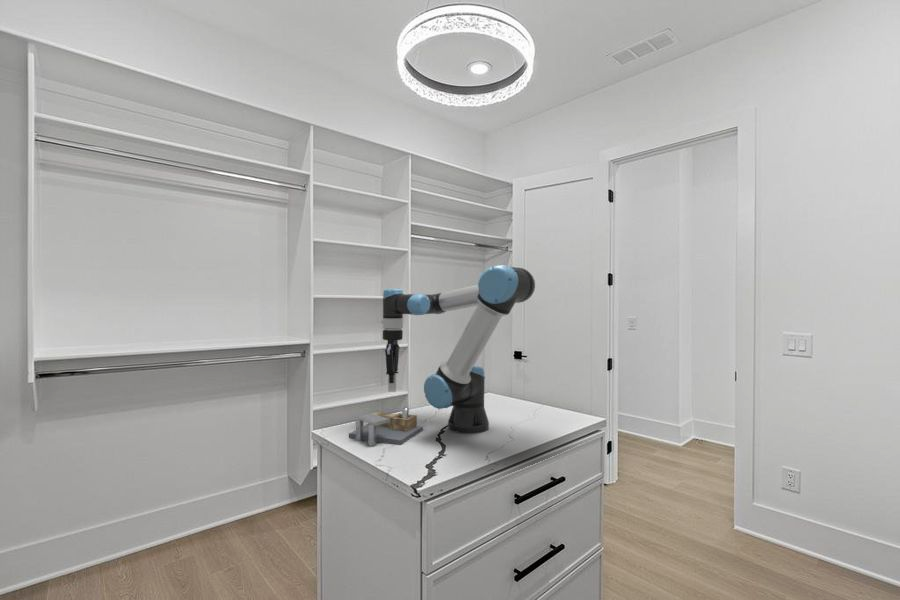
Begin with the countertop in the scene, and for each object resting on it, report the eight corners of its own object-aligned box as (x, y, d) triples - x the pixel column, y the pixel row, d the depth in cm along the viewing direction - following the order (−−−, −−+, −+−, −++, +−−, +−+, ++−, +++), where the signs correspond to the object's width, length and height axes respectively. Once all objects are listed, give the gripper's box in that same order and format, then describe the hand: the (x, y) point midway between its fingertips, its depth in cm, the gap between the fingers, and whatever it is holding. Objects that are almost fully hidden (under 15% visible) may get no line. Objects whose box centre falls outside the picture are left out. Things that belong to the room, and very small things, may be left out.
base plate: (422, 430, 160) (422, 426, 160) (401, 444, 144) (401, 440, 144) (374, 424, 167) (374, 420, 167) (348, 437, 151) (348, 433, 151)
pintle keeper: (409, 431, 158) (409, 407, 158) (383, 447, 141) (383, 421, 141) (378, 427, 163) (378, 404, 163) (349, 443, 146) (349, 417, 146)
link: (416, 426, 160) (416, 415, 160) (408, 431, 154) (408, 420, 153) (375, 421, 166) (375, 410, 166) (365, 426, 160) (365, 415, 160)
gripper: (387, 327, 176) (387, 387, 176) (378, 330, 163) (377, 394, 163) (406, 328, 175) (405, 388, 175) (398, 330, 162) (397, 395, 162)
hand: (392, 391), depth 169 cm, fingers closed
